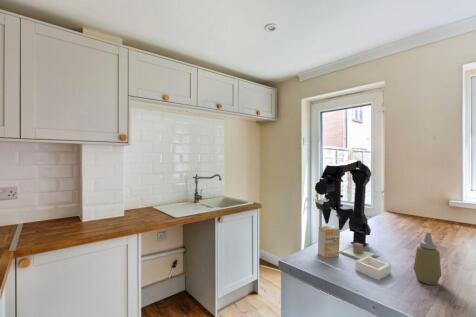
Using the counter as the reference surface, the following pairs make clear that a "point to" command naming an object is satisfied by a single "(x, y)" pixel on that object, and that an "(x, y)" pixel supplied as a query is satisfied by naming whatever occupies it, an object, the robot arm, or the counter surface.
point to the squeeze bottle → (427, 261)
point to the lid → (357, 251)
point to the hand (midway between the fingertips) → (333, 226)
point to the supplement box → (328, 241)
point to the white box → (373, 267)
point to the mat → (355, 258)
